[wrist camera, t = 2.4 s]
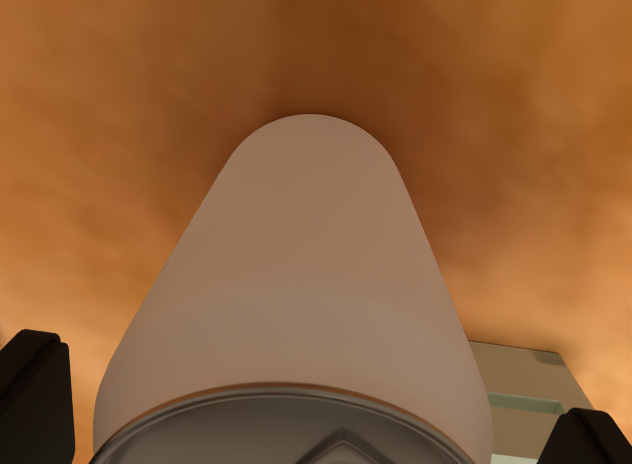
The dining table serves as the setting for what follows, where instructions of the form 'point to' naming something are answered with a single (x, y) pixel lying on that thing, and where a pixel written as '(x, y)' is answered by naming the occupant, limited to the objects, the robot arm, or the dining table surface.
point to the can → (297, 322)
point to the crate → (525, 398)
